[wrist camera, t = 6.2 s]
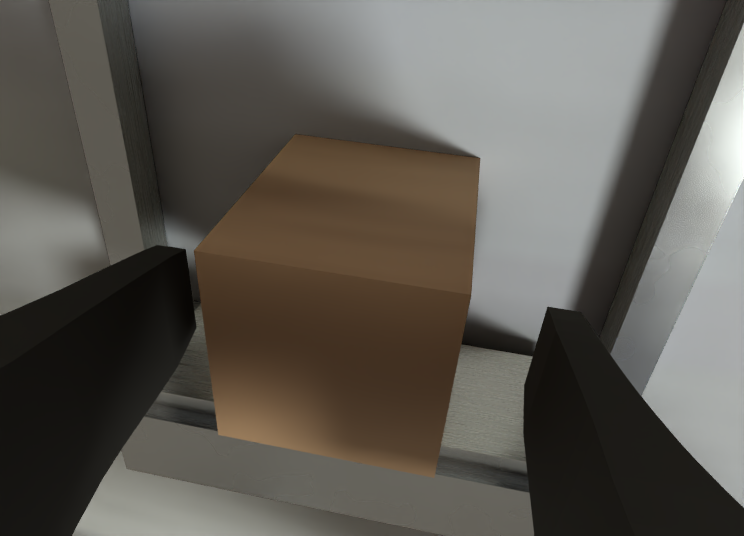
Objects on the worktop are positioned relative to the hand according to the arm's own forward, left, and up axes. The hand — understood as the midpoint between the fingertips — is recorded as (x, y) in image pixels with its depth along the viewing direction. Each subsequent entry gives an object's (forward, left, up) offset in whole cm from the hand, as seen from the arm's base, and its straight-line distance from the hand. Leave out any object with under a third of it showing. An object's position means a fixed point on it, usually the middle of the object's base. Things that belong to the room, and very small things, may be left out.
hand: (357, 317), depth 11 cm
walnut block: (+1, 0, -3) cm, 3 cm away
